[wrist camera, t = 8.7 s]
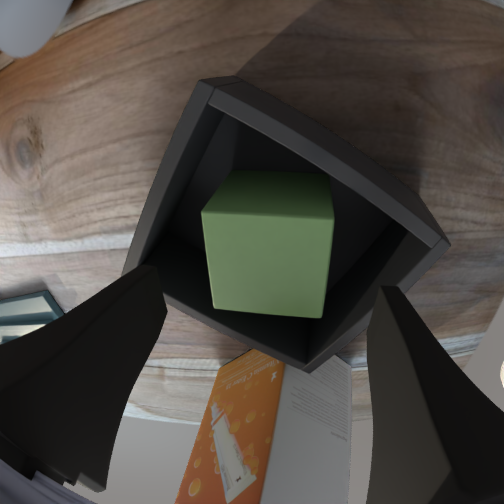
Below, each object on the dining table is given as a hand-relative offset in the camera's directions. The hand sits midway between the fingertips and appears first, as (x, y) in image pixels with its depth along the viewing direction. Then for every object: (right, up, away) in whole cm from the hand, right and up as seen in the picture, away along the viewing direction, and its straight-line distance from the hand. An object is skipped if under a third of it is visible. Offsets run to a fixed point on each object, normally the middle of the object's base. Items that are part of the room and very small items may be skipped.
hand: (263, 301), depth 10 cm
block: (+1, +3, +5) cm, 6 cm away
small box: (+2, -7, +12) cm, 14 cm away
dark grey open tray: (+1, +4, +5) cm, 7 cm away
